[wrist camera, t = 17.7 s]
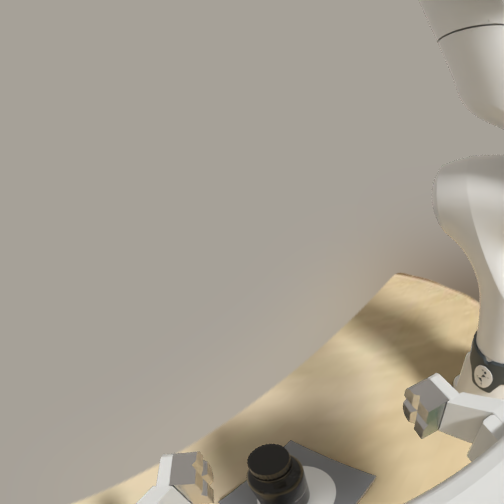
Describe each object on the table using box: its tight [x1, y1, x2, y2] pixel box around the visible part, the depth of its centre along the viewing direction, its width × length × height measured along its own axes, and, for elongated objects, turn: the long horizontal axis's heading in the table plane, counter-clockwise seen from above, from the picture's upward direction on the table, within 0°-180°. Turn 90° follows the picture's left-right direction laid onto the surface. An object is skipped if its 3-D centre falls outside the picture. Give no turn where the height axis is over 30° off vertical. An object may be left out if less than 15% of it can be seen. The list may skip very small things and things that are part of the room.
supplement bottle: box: [247, 444, 310, 504], centre depth 26 cm, size 7×7×12 cm
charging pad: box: [219, 440, 376, 504], centre depth 28 cm, size 16×16×1 cm
